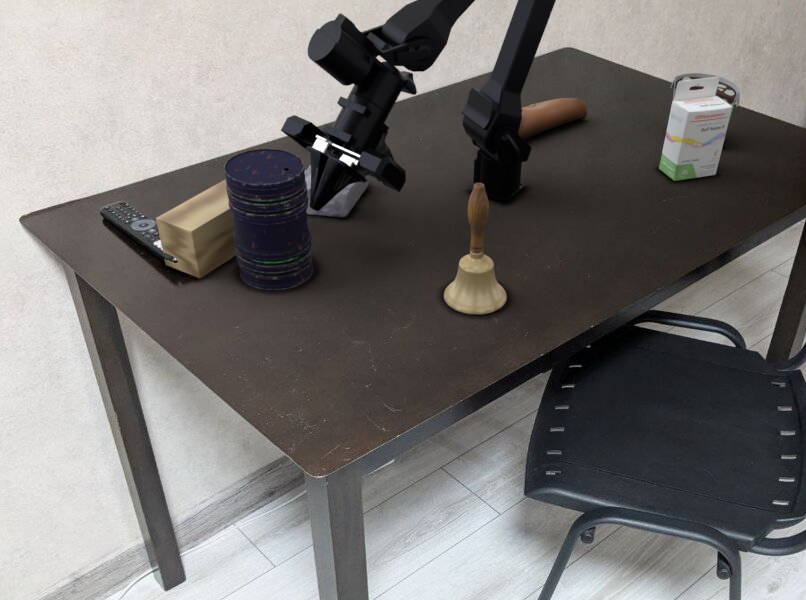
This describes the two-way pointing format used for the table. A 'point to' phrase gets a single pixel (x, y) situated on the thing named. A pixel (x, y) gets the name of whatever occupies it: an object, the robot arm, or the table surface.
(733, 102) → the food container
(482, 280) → the hand bell
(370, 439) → the table surface
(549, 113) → the sunglasses case
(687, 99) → the ink box
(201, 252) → the birch block
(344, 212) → the stone block
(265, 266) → the blue barrel
